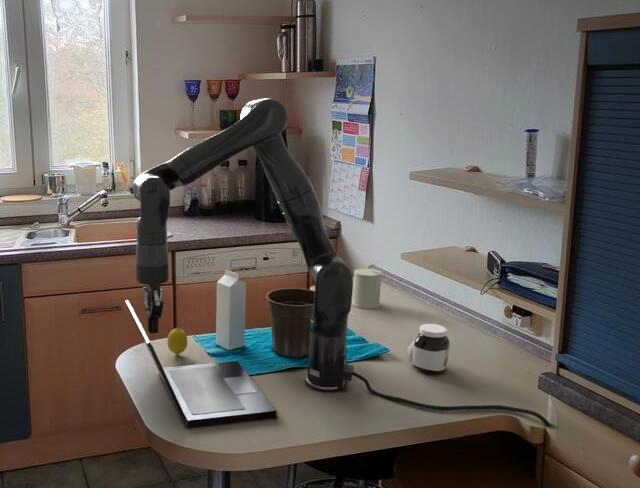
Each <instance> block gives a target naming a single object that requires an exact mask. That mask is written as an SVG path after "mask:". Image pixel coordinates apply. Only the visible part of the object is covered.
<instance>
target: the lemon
mask: <svg viewBox="0 0 640 488" xmlns="http://www.w3.org/2000/svg"><path fill="white" fill-rule="evenodd" d="M166 341H167V348H168V350H169V351H170V352H171V353H173V354H175V355H176V356H179V355H180V354H182V353H183V352H185V350H186V349H187V346H188V336H187V333H186V332H185V331H184V330H183V329H182V328H179V327H176V328H173V329H172V330H171V331H170V332H169V333H168V336H167V340H166Z"/></svg>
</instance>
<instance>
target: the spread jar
mask: <svg viewBox="0 0 640 488" xmlns="http://www.w3.org/2000/svg"><path fill="white" fill-rule="evenodd" d="M447 331H448V330H447V327H445V326H443V325H440V324H435V323H424V324H421V325H419V333H418V334H417V336H416V338H415V339H414V340H412V341H411V343H410V344H409V345H408V347H407V348H406V355H407V356H408V357H409V358H410V359H411V360H412V365H413V367H414V368H415V369H416V370H417V371H418V372H421V373H423V374H426V375H440V374H442V373H444V371H445V369H446V368H447V366H448V363H449V355H450V339H449V337H448V336H447Z"/></svg>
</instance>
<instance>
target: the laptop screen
mask: <svg viewBox="0 0 640 488" xmlns="http://www.w3.org/2000/svg"><path fill="white" fill-rule="evenodd" d="M124 301H125V304H126V306H127V308H128V310H129V312H130V315H131V317H132V319H133V321H134V322H135V323H134V324H135V325H136V327H137V330H138V332H139V334H140V336H141V338H142V340H143V342H144V344H145V346H146V348H147V351H148V353H149V356H150V357H151V359H152V361H153V363H154V365H155V368H156V369H157V372H158V374H159V376H160V378H161V379H162V382H163V384H164V385H165V388H166V390H167V392H168V393H169V396H170V398H171V399H172V401H173V404H174V405H175V407H176V409H177V412H178V414H179V416H180V418H181V420H182V421H183V423H185V422H186V421H187V419H186V417H185V415H184V413H183V410H182V408H181V406H180V404H179V402H178V399H177V397H176V395H175V393H174V391H173V389H172V387H171V384H170V382H169V380H168V378H167V376H166V374H165V372H164V370H163V368H164V367H163V365H162V363H161V361H160V359H159V357H158V355H157V353H156V350H155V349H154V346H153V344H152V342H151V341H150V340H151V339H149V337H148V334H147V332H146V331H145V329H144V327H143V325H142V323H141V321H140V319H139V317H138V316H137V314H136V312H135V309H134V308H133V306H132V304H131V302H130V301H129V299H126V300H124Z"/></svg>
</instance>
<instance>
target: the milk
mask: <svg viewBox="0 0 640 488" xmlns="http://www.w3.org/2000/svg"><path fill="white" fill-rule="evenodd" d="M239 277H240V276H239V273H236V272H234V271H230V270H228V269H225V270H224V275H223V276H222V277H221V278H219V279H218V280H217V282H216V313H215V314H216V316H215V317H216V318H215V319H216V320H215V321H216V323H215V345H217V346H218V347H221V348H223V349H225V350H227V351H231V350H235V349H239V348H242V347H245V344H246V309H247V307H246V304H247V283H246V282H244V281H243V280H241V279H239Z"/></svg>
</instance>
